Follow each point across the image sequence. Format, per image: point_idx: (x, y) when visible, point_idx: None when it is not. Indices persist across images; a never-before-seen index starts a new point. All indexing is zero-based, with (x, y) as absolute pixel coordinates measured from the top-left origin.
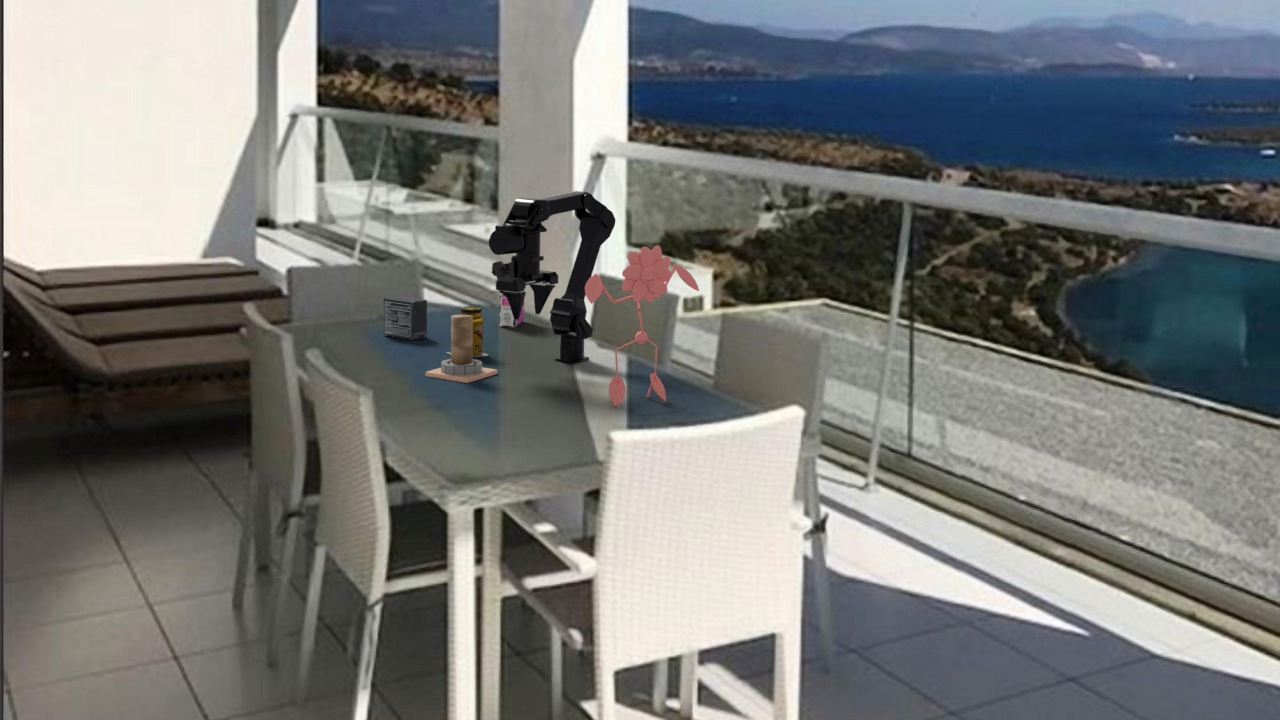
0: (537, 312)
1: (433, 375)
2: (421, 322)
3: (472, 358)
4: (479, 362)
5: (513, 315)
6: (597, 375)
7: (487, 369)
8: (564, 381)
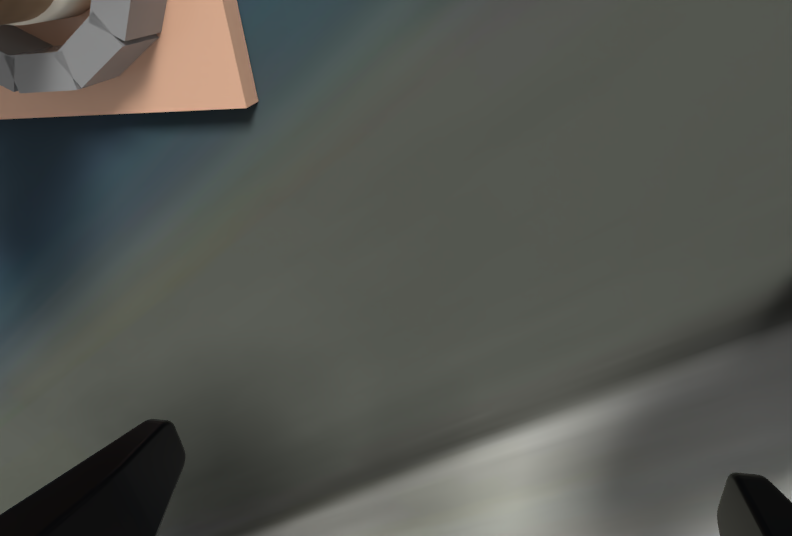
0: (732, 517)
1: None
2: None
3: (19, 12)
4: (96, 42)
5: (107, 453)
6: (578, 493)
7: (199, 51)
8: (377, 434)
